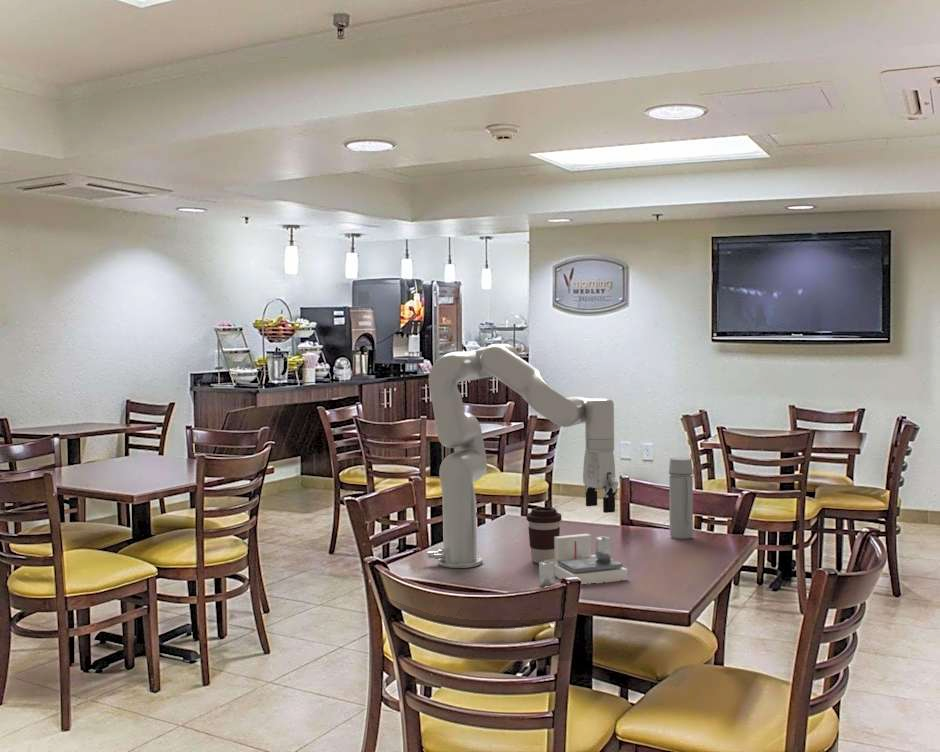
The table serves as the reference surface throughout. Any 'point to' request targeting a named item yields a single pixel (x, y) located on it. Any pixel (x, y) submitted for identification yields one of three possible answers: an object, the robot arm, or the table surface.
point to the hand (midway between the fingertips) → (600, 509)
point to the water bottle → (681, 497)
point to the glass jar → (603, 549)
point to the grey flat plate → (588, 564)
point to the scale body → (578, 549)
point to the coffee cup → (543, 532)
